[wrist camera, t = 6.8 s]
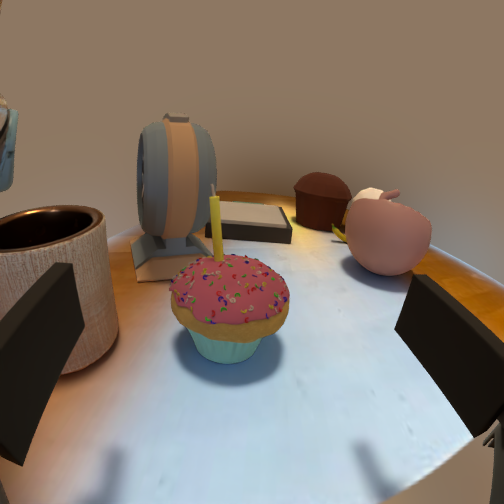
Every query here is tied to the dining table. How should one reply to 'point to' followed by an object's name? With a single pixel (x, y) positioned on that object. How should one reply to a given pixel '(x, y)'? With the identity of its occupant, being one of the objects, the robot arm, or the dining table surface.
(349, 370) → the dining table surface
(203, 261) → the cupcake
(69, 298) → the robot arm
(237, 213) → the scale
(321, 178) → the muffin
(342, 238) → the fruit
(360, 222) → the mortar and pestle
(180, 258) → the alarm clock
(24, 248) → the planter
